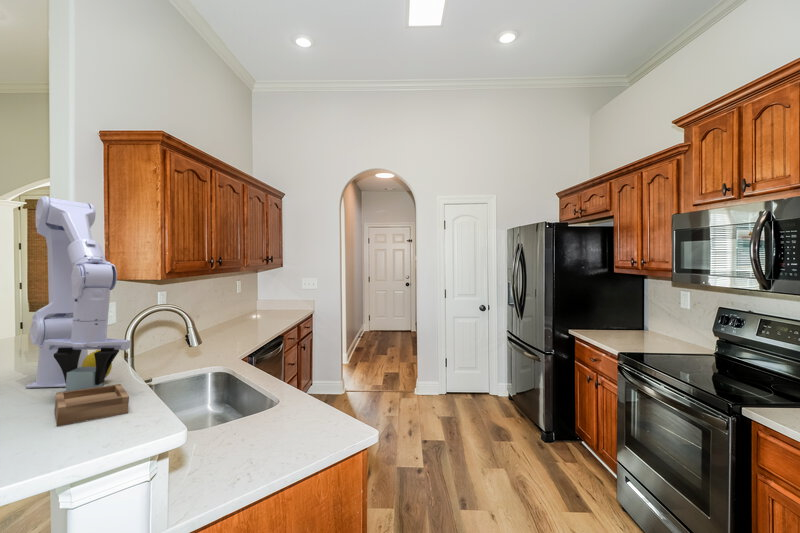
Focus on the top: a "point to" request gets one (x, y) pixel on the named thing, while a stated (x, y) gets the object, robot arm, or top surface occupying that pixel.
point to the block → (81, 378)
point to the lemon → (93, 362)
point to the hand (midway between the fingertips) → (85, 383)
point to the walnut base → (90, 404)
